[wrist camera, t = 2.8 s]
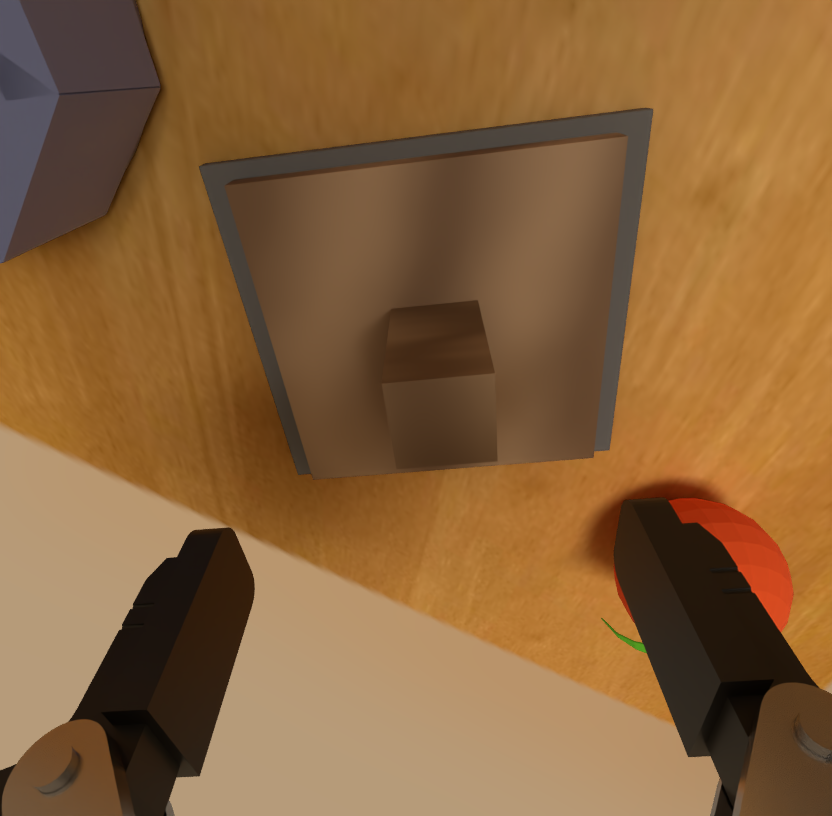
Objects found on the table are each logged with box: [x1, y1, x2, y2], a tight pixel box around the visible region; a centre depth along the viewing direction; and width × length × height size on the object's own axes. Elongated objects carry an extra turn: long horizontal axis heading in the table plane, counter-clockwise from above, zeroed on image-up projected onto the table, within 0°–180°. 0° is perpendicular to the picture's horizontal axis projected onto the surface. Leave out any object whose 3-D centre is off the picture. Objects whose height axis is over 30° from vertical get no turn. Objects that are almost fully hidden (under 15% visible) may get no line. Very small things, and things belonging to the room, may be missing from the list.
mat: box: [199, 108, 653, 475], centre depth 19 cm, size 14×13×1 cm
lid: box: [224, 132, 628, 480], centre depth 17 cm, size 12×12×6 cm
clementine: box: [601, 498, 794, 653], centre depth 23 cm, size 8×7×7 cm
